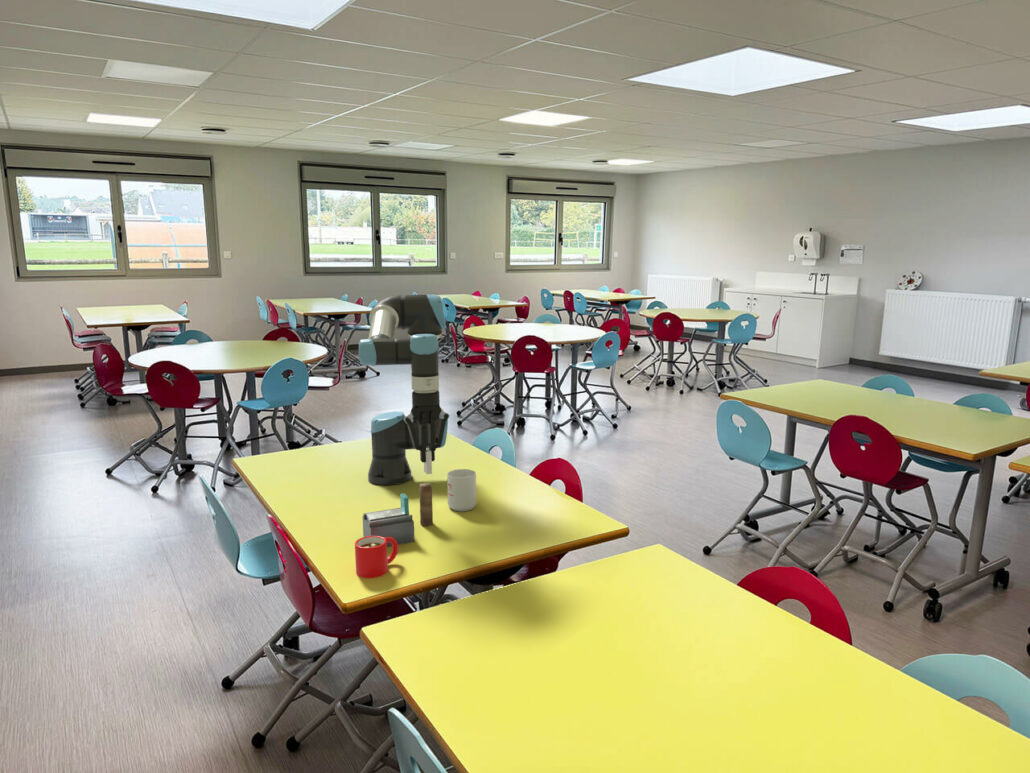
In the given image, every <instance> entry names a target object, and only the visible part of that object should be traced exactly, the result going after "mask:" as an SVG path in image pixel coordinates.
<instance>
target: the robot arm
mask: <svg viewBox="0 0 1030 773" xmlns="http://www.w3.org/2000/svg"><path fill="white" fill-rule="evenodd" d="M368 320H369V321H368V322H369V325H370V328H369V334H368V338H363V339H360V341H358V360H359V363H360V365H362V366H372V367H375V366H397V365H398V366H399V365H400V366H401V365H402V366H403V365H410V366H411V370H410V371H411V374H410V375H411V390H412V392H411V401H412V402H411V403H412V405H411V410H410V412H409V414H407V416H406V414H405V413H404V412H403V411H390V412H386V413H385V412H384V413H381V414H378V415H376V416H374V417H373V418H371V419H372V420H371V421H370V434H371V456H372V458H371V463H370V466H369V468H368V473H367V479H368V482H369V483H372V484H374V485H381V486H382V485H383V486H393V485H399V484H403V483H406V482H408V481H410V480H411V479H412V470H411V467H410V464H409V462H408V459H407V457H406V456H407V454H406V453H407V451H406V450H416V451H419V455H420V456H419V457H420V459H419V460H420V462H421V463H423V473H425V474H426V475H430V474H431V475H432V474H433V468H432V467H433V462H435V459H436V458H435V457H436V454H435V453H436V452H435V451H436V450H437V449H441V448H443V447H444V446H445V445H446V444H447V443H446V442H447V438H448V427H449V426H448V423H449V418H450V414H449V413H447V412H445V410H444V409H443V408H442V407H441V406H440V401H441V400H440V377H439V376H440V375H439V373H440V372H439V347H440V346H439V339H440V337H441V336H442V335H443V330H445V329H446V328H447V325H446V317H445V311H444V306H443V300H442V297H441V296H440V295H437V294H396V295H392V296H388V297H385V298H384V299H381V300H380V301H378V302H377V303H376V304H375V305H374V306H373V307H372V309H371V310H370V312H369V317H368ZM396 330H401V331H403V330H404V331H405V330H406V331H407V336H408V338H407V337H406V338H405V337H404V338H403V337H401V338H395V333H396ZM409 337H410V338H409Z"/></svg>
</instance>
